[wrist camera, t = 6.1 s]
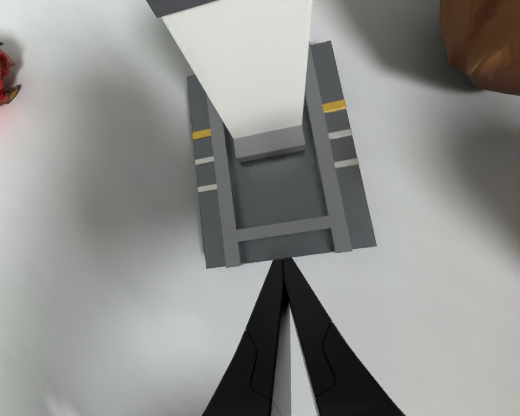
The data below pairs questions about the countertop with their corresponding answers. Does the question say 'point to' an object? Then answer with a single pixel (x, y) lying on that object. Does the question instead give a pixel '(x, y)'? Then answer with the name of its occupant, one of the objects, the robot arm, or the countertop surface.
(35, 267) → the countertop surface
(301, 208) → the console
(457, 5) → the butternut squash
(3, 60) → the dragon fruit
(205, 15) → the plate
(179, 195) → the countertop surface
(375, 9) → the countertop surface
